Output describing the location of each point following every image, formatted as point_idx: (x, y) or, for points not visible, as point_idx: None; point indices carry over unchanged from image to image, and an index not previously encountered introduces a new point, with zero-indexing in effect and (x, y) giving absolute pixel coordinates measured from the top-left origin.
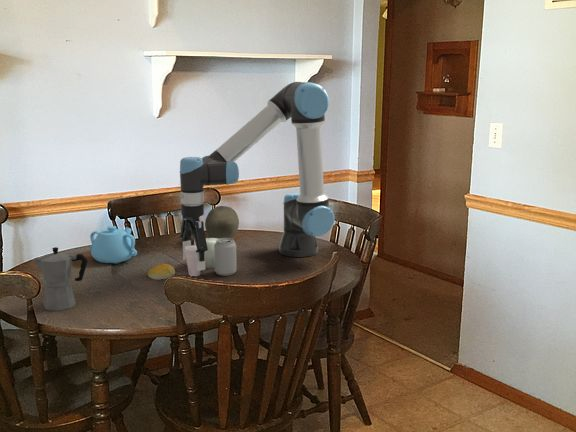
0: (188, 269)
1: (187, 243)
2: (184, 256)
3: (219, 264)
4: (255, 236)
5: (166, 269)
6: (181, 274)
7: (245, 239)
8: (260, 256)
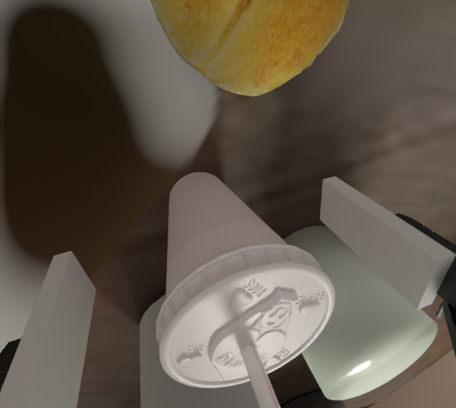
0: (196, 186)
1: (408, 274)
2: (336, 192)
3: (153, 348)
4: (441, 337)
5: (215, 15)
6: (226, 132)
7: (441, 323)
8: (307, 366)
